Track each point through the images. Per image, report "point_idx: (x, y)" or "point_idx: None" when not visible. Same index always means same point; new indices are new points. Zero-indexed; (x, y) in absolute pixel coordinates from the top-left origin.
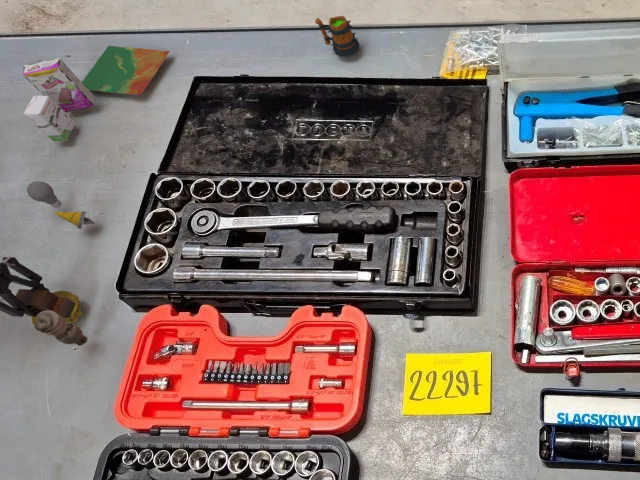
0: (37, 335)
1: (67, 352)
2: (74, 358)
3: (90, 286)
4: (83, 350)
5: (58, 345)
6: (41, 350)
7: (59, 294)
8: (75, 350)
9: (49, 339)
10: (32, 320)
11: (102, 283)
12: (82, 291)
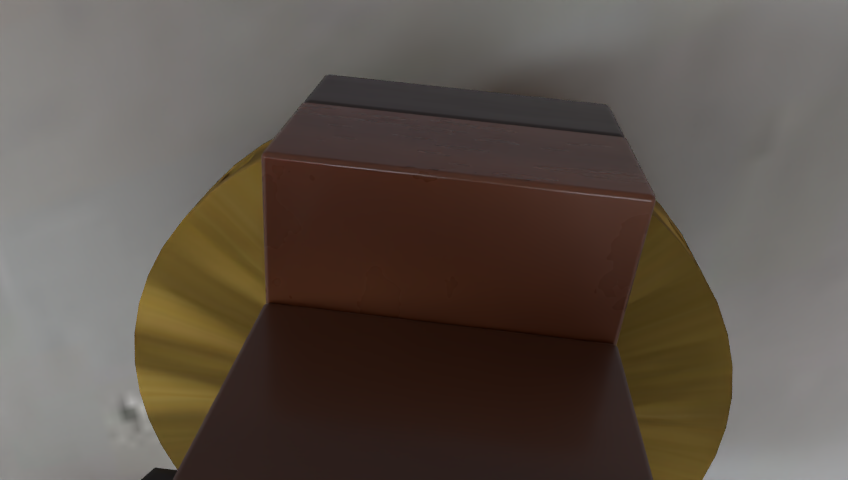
0: (204, 13)
1: (85, 365)
2: (50, 426)
3: (795, 390)
4: (129, 468)
5: (132, 276)
6: (44, 128)
7: (667, 411)
8: (116, 417)
9: (177, 171)
10: (246, 179)
11: (799, 476)
12: (750, 334)
